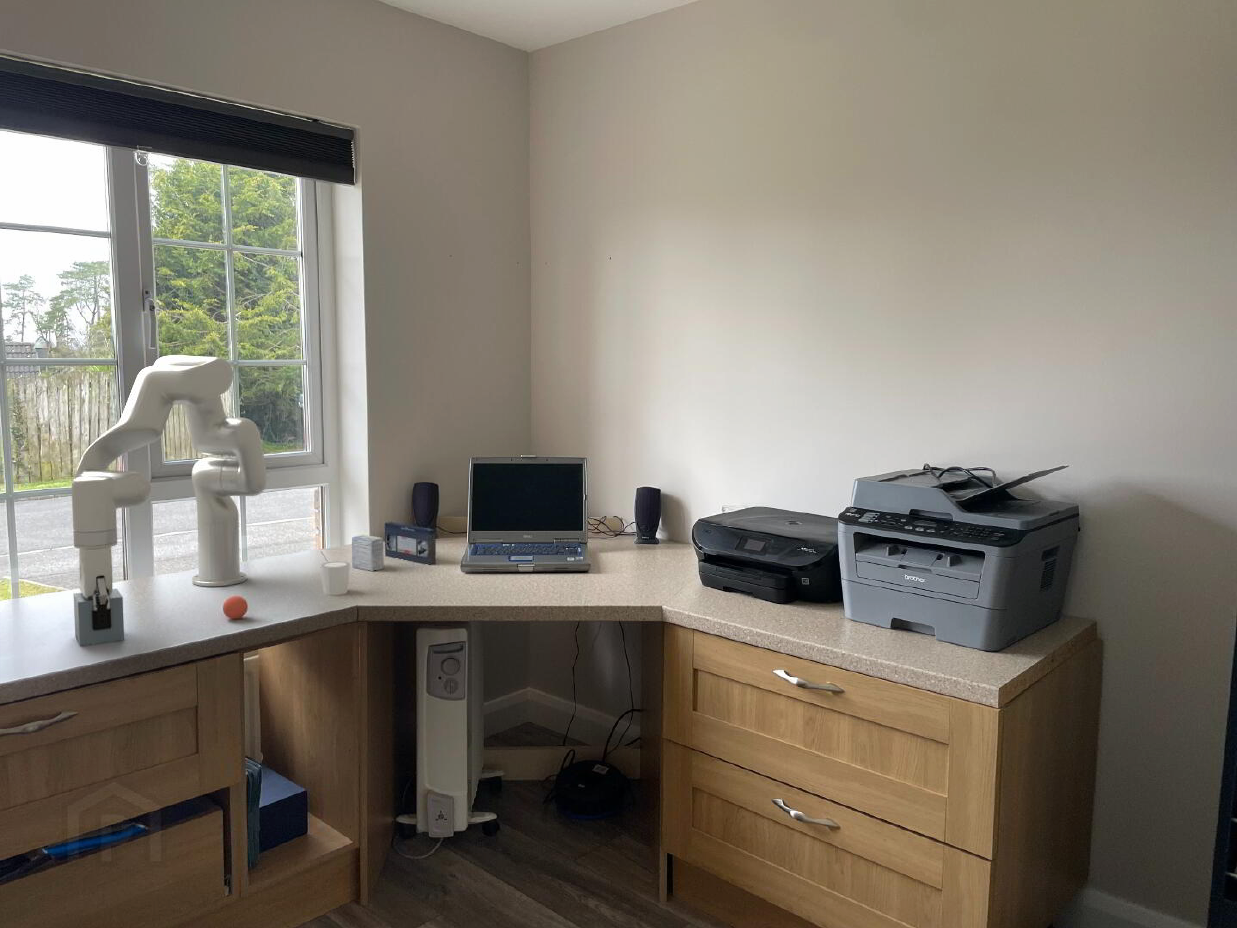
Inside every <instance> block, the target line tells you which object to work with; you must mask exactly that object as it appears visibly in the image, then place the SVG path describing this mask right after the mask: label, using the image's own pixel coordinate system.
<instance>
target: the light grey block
mask: <svg viewBox="0 0 1237 928" xmlns="http://www.w3.org/2000/svg"><path fill="white" fill-rule="evenodd" d="M384 556H385V555H384V538H383V537H379V536H372V535H368V534H361V535H355V536H353V537H352V538H351V558H352V560H351V564H352V568H353V569H359V570H364V571H368V570H370V571H369V572H375V571H374V570H377V571H380V570H383V569H384V566H385V564H384V560H385V559H384Z"/></svg>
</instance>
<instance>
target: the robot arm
mask: <svg viewBox="0 0 1237 928" xmlns="http://www.w3.org/2000/svg"><path fill="white" fill-rule="evenodd" d="M232 367H233V366H231V364H230V363H229V361H227V360H226V359H224V358H223V357H217V356H199V355H197V356H194V355H166V356H165V355H164V356H161V357H160V358H158V359H156V361H155V362H154V364H153V365H152V366H147V367H145V368H143V369H142V370H141V371H140V372H139V373H138V374H137V376H136V379H135V381H134V384H133V386H132V389H131V392H130V394H129V397H128V398H127V402H126V405H125V408H124V410H123V413H122V415H121V417H120V419H119V421H118V423H117V424H116V425H114V426H113V427H111V428H110V429H108V430H107V431H106V432H104V433H103V434H102V435H101V436H99V437H98V438H97V439H96V440H95V441H94V442H93V443H92V444H90V446H88V448H87V449H86V450H85V452H84V453H83V454H82V456H81V459H80V461H79V464H78V466H77V468H76V471H75V473H74V476H73V481H72V483H71V505H72V528H73V548H75V549H76V548H77V549H79V552H78V553H79V554H78V557H79V558H78V564H79V565H78V570H79V571H78V573H79V577H78V578H79V580H78V581H79V582H78V583H79V585H78V587H79V590H80V593H82V595H83V596H84V597H85V598H88V596H92V600H93V610H92V628H93V630H94V631H96V630H103V629H110V628H111V608H110V603H109V596H110V595H111V594H112V589H113V557H112V556H113V555H112V547H115V546H116V545H118V528H117V527H118V526H117V525H118V524H117V523H118V522H117V521H118V520H117V509H129V508H130V509H131V508H135V507H138V506H139V507H140V505H142V504H144V503H145V502H146V501H147V500H148V498H149V496H150V494H151V491H152V490H151V483H150V480H149V479H148V478H147V477H146V476H145V475H143V474H142V473H140V472H138V471H131V470H130V471H129V470H128V471H127V470H108V469H109V467H110V465H112V464H113V462H114V461H115V460H117V459H118V458H119V457H121V456H123V455H125V454H127V453H129V452H132V451H135V450H137V449H140V448H143V447H145V446H147V445H150V444H153V443H154V442H157V441H159V440H160V439H161V437H162V435H163V433H164V430H165V427H166V424H167V422H168V418H169V416H170V415H171V414H170V413H171V411H172V408H173V407H174V406H175V405H176V406H177V405H178V406H181V405H182V406H183V408H184V412H185V416H186V421H187V428H188V431H189V437H190V440H191V444H192V447H193V449H194V451H195V452H196V453H199V454H201V455H206V456H208V457H204V458H201V459H199V460H198V461H196V462H195V464H194V465H193V467H192V469H191V483H192V485H193V489H194V494H195V500H196V513H197V518H196V519H197V521H196V522H197V548H198V549H197V551H198V553H197V554H198V555H197V556H198V557H197V558H198V574H196V575H194V576H193V577H192V579H191V581H192V584H194V585H195V586H201V587H223V586H224V587H225V586H232V585H233V586H234V585H237V584H239V583H242V582H245V581H246V580H247V574H246V573H245V572H242V571H241V570H240V569H241V567H240V565H241V564H240V563H241V561H240V519H239V517H240V516H239V509H238V506H237V505H236V503H235V501H234V500H233V498H232V497H231V496H234V497H235V496H236V497H256V496H259V495H261V494H262V493H263V492H264V491H265V488H266V486H267V479H268V477H267V476H268V475H267V474H268V473H267V468H266V461H265V455H264V449H263V441H262V437H261V433H260V430H259V428H258V426H257V424H256V423H255V421H253V420H252V419H249V418H245V417H236V416H235V417H234V416H233V417H230V416H228V415H226V413H225V409H224V404H223V401H222V397H221V395H223V394H225V393H226V392H227V391H228V390H229V389H230V387H231V386H232V383H233V381H234V371H233V368H232ZM209 456H210V457H209ZM95 593H99V594H96V595H95ZM96 599H97V601H96Z"/></svg>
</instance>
